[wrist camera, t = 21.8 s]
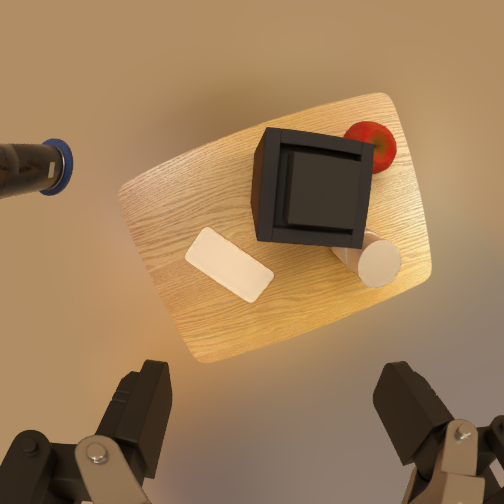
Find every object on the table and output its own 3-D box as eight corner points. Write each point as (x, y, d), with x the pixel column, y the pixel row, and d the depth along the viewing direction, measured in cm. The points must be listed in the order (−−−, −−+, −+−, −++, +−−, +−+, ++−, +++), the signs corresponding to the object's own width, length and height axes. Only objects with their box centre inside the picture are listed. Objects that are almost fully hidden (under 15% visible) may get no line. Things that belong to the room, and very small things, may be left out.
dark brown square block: (282, 216, 22) (287, 223, 19) (287, 154, 21) (294, 151, 18) (341, 222, 22) (353, 229, 20) (347, 162, 21) (361, 161, 18)
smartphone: (205, 224, 47) (276, 274, 49) (206, 224, 47) (275, 273, 50) (182, 258, 48) (251, 304, 51) (183, 257, 49) (251, 303, 52)
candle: (342, 263, 50) (375, 298, 36) (318, 237, 49) (347, 265, 34) (368, 238, 49) (409, 264, 34) (346, 211, 47) (385, 228, 33)
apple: (365, 121, 43) (394, 110, 32) (381, 164, 45) (413, 165, 35) (324, 134, 44) (345, 125, 33) (342, 180, 46) (367, 183, 35)
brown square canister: (250, 202, 47) (256, 241, 21) (254, 151, 44) (266, 126, 19) (301, 207, 47) (362, 249, 22) (305, 157, 45) (374, 144, 19)
